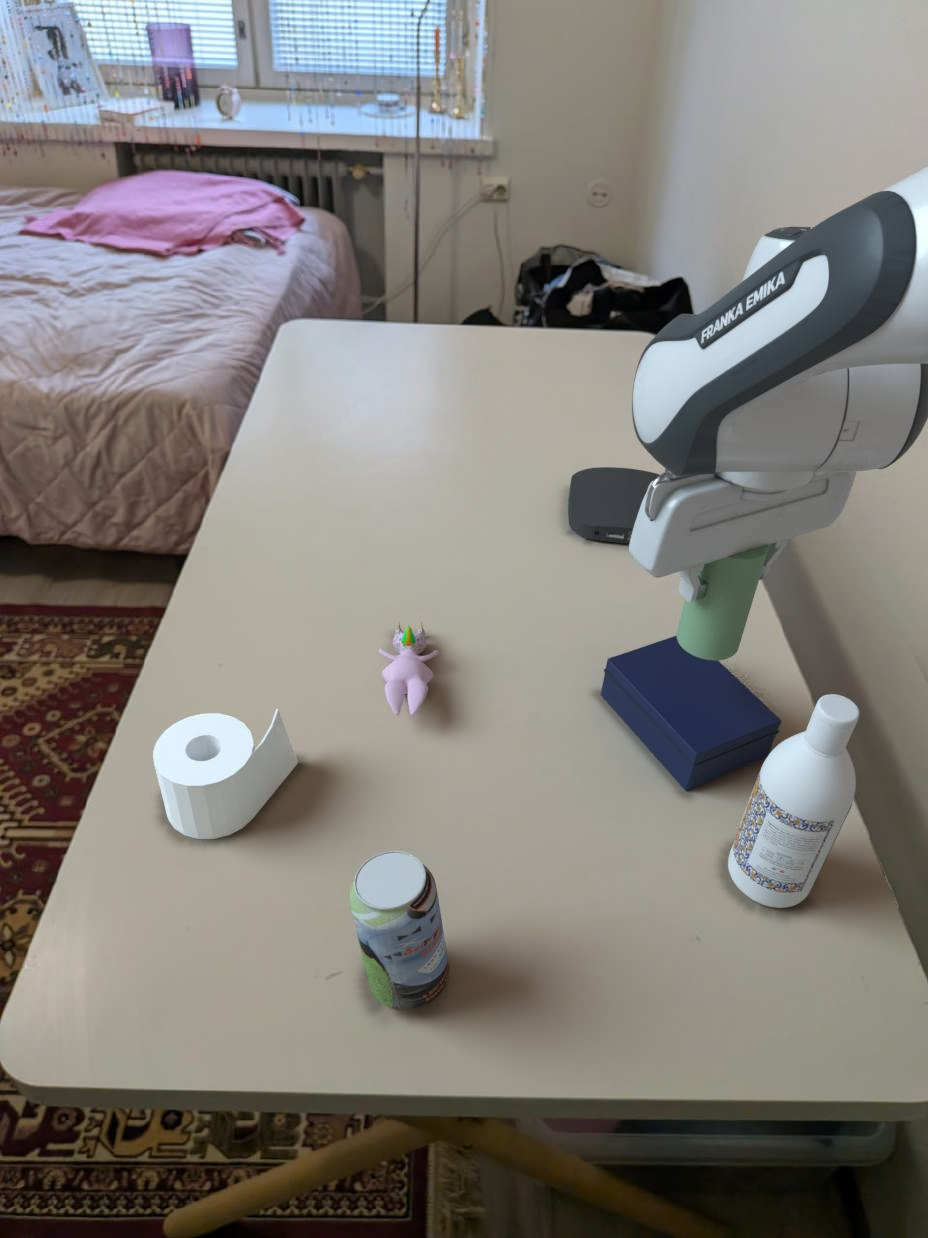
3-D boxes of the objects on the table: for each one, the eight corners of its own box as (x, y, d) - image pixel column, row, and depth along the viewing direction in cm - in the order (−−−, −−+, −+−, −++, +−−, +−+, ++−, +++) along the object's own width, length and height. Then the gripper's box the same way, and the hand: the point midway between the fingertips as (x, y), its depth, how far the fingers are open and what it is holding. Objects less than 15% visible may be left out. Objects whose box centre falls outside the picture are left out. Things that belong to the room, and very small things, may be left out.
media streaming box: (675, 490, 126) (679, 470, 124) (684, 551, 115) (689, 531, 113) (568, 480, 127) (571, 461, 125) (567, 540, 116) (569, 520, 114)
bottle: (751, 650, 83) (798, 502, 74) (702, 667, 81) (744, 517, 71) (711, 615, 87) (750, 469, 77) (664, 630, 85) (698, 483, 75)
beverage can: (429, 1032, 67) (432, 940, 59) (338, 994, 68) (330, 900, 61) (461, 958, 71) (469, 864, 63) (375, 924, 73) (372, 829, 65)
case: (772, 755, 89) (786, 719, 86) (685, 792, 85) (696, 755, 82) (681, 665, 98) (690, 629, 95) (599, 694, 94) (606, 658, 91)
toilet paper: (297, 763, 86) (292, 709, 81) (224, 853, 78) (214, 799, 73) (224, 733, 88) (215, 680, 84) (146, 818, 80) (131, 764, 76)
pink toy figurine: (381, 645, 101) (371, 728, 88) (381, 597, 98) (371, 676, 85) (438, 647, 101) (437, 730, 88) (440, 599, 98) (439, 678, 85)
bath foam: (761, 828, 82) (827, 661, 69) (826, 883, 78) (909, 716, 65) (709, 866, 79) (768, 698, 66) (774, 925, 75) (851, 758, 62)
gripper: (679, 490, 66) (647, 639, 74) (885, 437, 73) (834, 577, 82) (628, 451, 70) (603, 596, 79) (827, 404, 78) (784, 541, 86)
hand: (722, 586), depth 80 cm, fingers closed on bottle, 5 cm apart
